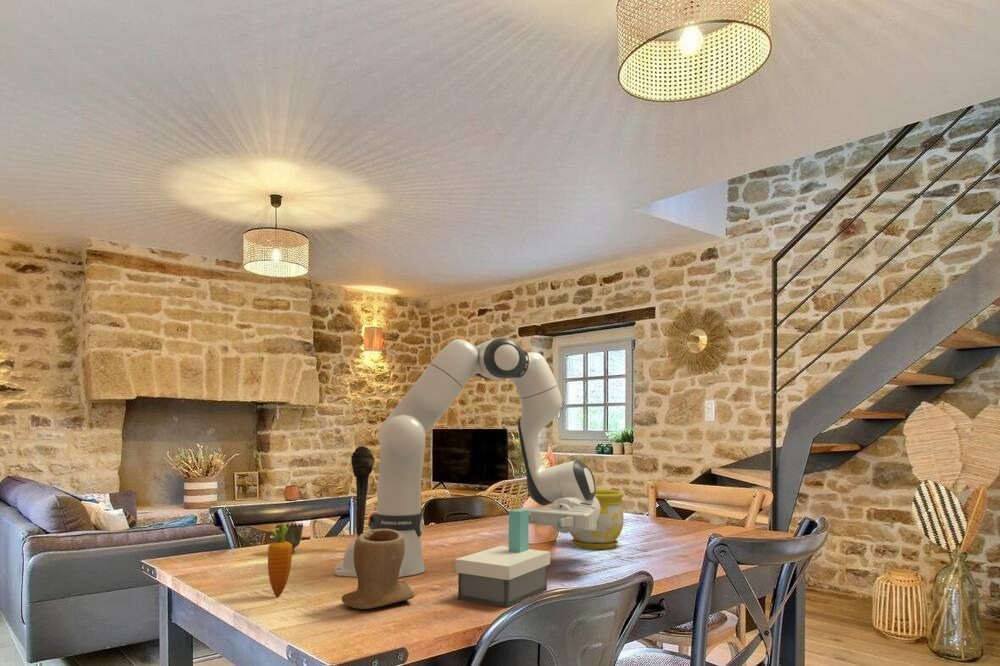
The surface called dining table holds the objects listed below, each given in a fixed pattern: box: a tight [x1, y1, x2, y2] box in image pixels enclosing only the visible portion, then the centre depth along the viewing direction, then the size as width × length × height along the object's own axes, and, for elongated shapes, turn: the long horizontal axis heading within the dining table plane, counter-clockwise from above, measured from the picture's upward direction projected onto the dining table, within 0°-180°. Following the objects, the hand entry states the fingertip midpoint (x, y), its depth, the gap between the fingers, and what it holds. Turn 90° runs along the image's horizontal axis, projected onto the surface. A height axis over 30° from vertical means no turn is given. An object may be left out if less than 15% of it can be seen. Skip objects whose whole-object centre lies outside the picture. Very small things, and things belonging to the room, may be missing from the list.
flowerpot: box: [569, 488, 625, 550], centre depth 209 cm, size 18×18×16 cm
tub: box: [457, 565, 548, 609], centre depth 148 cm, size 18×12×7 cm, turn 149°
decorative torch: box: [350, 445, 375, 537], centre depth 196 cm, size 7×7×30 cm
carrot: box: [267, 523, 293, 598], centre depth 144 cm, size 5×5×15 cm
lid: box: [454, 508, 551, 580], centre depth 149 cm, size 19×13×12 cm
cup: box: [275, 523, 304, 555], centre depth 190 cm, size 8×7×8 cm
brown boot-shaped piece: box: [340, 529, 415, 610], centre depth 139 cm, size 15×12×15 cm
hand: (542, 521), depth 165 cm, fingers open, 8 cm apart
